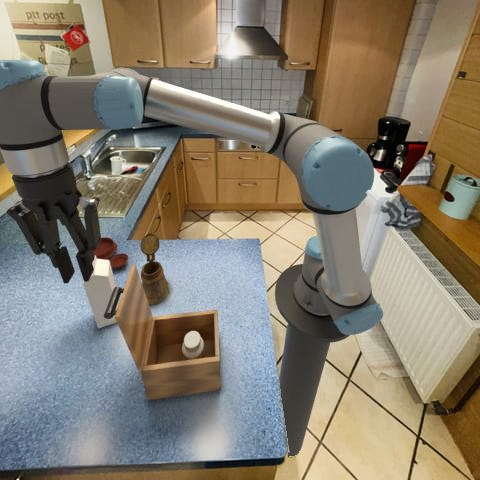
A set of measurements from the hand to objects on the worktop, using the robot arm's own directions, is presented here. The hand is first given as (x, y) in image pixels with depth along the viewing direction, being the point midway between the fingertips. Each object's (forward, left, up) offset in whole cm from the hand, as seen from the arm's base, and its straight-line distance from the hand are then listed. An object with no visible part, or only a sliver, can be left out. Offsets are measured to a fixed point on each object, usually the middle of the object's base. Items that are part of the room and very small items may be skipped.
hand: (79, 276), depth 48 cm
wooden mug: (-6, -25, -35) cm, 43 cm away
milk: (+6, -16, -35) cm, 39 cm away
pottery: (+14, -40, -35) cm, 54 cm away
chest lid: (-9, 0, -13) cm, 16 cm away
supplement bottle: (-20, 0, -34) cm, 39 cm away
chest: (-18, 0, -35) cm, 39 cm away
